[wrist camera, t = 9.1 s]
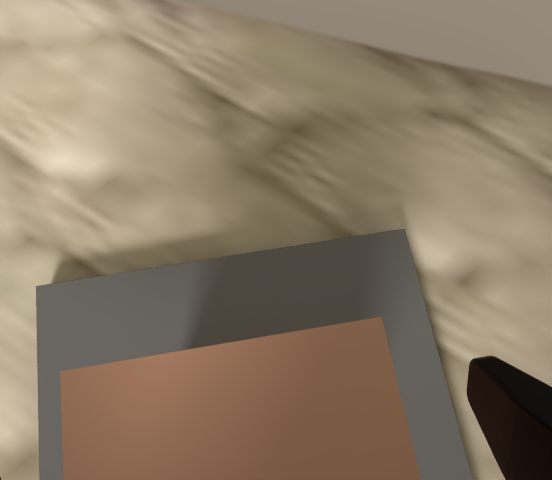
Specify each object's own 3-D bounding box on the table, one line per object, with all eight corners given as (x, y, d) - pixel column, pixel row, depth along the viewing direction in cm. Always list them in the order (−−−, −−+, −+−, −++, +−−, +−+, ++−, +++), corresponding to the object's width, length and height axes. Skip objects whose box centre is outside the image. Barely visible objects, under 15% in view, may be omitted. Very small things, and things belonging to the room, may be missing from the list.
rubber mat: (506, 645, 16) (522, 661, 15) (59, 751, 14) (44, 775, 13) (397, 237, 20) (404, 228, 19) (47, 292, 19) (36, 286, 18)
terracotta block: (344, 522, 16) (475, 704, 6) (189, 555, 15) (74, 800, 6) (314, 365, 17) (381, 316, 8) (172, 390, 17) (59, 371, 7)
